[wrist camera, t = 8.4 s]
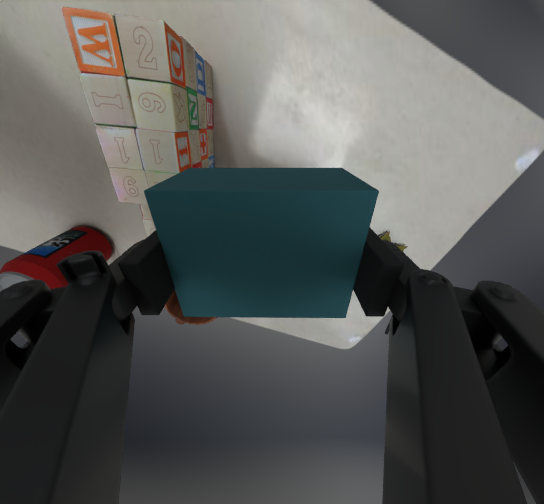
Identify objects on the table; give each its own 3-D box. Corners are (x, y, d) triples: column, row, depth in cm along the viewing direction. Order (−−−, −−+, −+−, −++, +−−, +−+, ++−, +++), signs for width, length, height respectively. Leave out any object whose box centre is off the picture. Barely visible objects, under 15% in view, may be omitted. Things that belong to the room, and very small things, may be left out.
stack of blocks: (218, 235, 34) (195, 284, 24) (179, 232, 34) (139, 280, 24) (212, 64, 23) (163, 16, 13) (154, 57, 23) (55, 1, 12)
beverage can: (80, 215, 32) (-8, 258, 22) (122, 242, 35) (60, 291, 25) (65, 242, 35) (-21, 291, 25) (105, 265, 37) (43, 318, 27)
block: (188, 167, 12) (142, 190, 8) (342, 167, 12) (379, 190, 8) (208, 265, 16) (183, 317, 12) (326, 266, 16) (345, 318, 11)
